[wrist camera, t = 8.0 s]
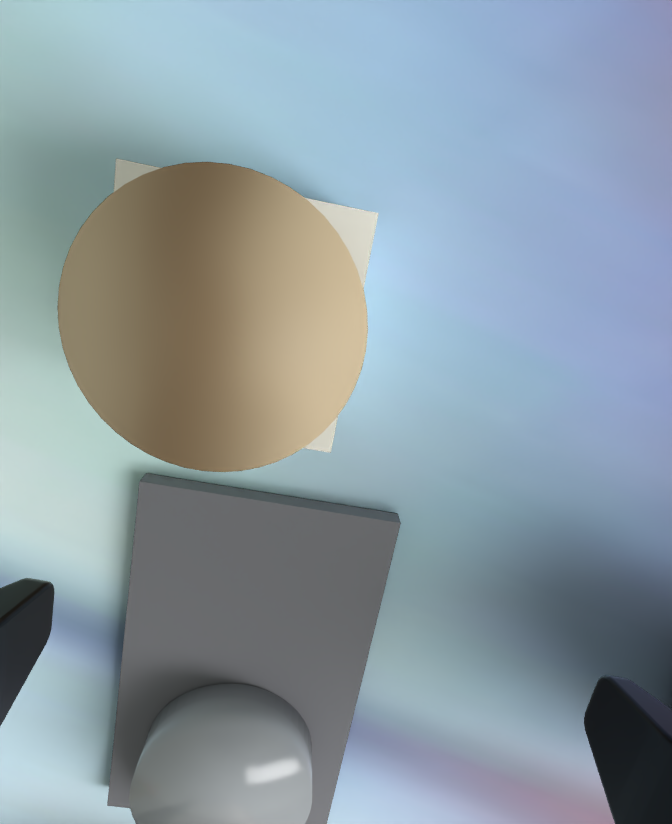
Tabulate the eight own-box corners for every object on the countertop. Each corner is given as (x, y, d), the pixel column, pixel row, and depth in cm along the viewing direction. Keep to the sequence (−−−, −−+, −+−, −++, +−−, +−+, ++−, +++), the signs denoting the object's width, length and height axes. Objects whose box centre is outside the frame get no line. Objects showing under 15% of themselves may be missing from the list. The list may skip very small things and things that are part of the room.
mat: (397, 513, 21) (400, 523, 20) (324, 811, 25) (325, 829, 24) (146, 473, 20) (139, 481, 19) (114, 788, 24) (107, 805, 23)
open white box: (365, 224, 18) (378, 213, 14) (328, 416, 20) (330, 452, 16) (160, 182, 17) (115, 158, 14) (141, 384, 19) (97, 413, 15)
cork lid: (378, 203, 14) (391, 190, 12) (339, 453, 16) (343, 487, 13) (106, 160, 14) (58, 136, 11) (99, 423, 15) (56, 453, 13)
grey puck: (307, 677, 22) (307, 722, 20) (316, 805, 24) (316, 857, 22) (134, 689, 22) (115, 736, 20) (158, 817, 24) (143, 872, 22)
